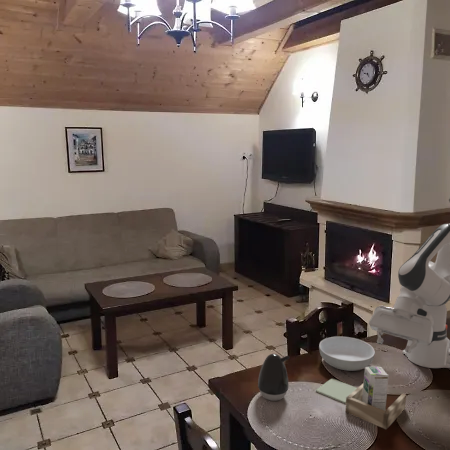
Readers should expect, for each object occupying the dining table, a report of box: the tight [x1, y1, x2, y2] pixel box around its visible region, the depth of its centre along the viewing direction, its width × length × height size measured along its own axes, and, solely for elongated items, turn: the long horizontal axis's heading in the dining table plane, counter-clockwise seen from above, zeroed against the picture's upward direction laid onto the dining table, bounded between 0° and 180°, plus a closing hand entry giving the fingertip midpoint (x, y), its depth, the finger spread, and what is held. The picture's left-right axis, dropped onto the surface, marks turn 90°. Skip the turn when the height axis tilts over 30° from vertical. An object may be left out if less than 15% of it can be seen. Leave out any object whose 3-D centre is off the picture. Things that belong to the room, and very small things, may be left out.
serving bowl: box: [318, 336, 376, 372], centre depth 178 cm, size 21×21×7 cm
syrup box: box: [362, 365, 389, 411], centre depth 145 cm, size 6×6×14 cm
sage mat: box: [315, 377, 358, 405], centre depth 159 cm, size 11×11×1 cm
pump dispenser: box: [257, 353, 290, 402], centre depth 154 cm, size 10×10×15 cm
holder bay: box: [345, 382, 407, 430], centre depth 147 cm, size 15×13×5 cm
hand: (393, 347), depth 152 cm, fingers open, 8 cm apart
